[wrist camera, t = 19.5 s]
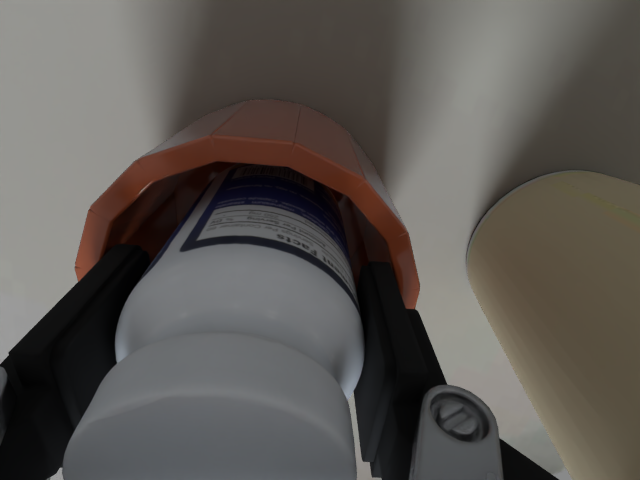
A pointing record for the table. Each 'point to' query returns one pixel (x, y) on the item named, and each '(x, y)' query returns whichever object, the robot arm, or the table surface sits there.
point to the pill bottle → (234, 345)
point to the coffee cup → (569, 311)
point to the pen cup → (262, 149)
